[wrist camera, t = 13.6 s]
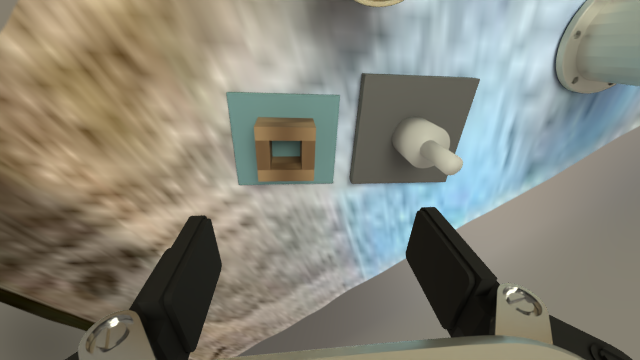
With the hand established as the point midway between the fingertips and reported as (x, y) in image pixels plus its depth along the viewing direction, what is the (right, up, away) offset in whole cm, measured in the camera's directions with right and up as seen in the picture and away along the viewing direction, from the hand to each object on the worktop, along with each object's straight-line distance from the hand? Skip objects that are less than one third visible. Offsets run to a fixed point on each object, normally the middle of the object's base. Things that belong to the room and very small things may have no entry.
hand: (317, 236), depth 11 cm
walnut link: (-4, +7, +20) cm, 21 cm away
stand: (+12, +9, +21) cm, 26 cm away
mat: (-4, +7, +20) cm, 22 cm away
